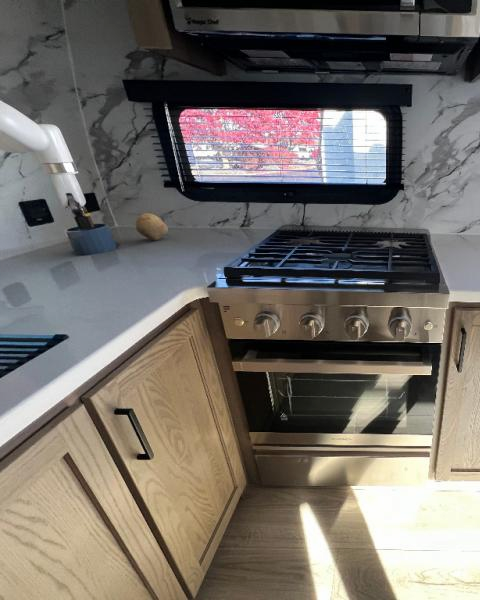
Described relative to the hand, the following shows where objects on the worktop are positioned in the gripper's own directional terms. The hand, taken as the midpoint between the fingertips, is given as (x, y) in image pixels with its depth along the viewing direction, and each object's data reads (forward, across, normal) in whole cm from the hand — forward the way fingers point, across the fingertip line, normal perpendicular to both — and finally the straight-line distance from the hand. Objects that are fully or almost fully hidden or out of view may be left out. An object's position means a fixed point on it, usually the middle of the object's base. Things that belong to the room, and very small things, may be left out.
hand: (86, 226), depth 111 cm
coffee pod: (0, 0, 0) cm, 0 cm away
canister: (+8, 0, 0) cm, 8 cm away
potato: (+8, -2, +17) cm, 19 cm away
